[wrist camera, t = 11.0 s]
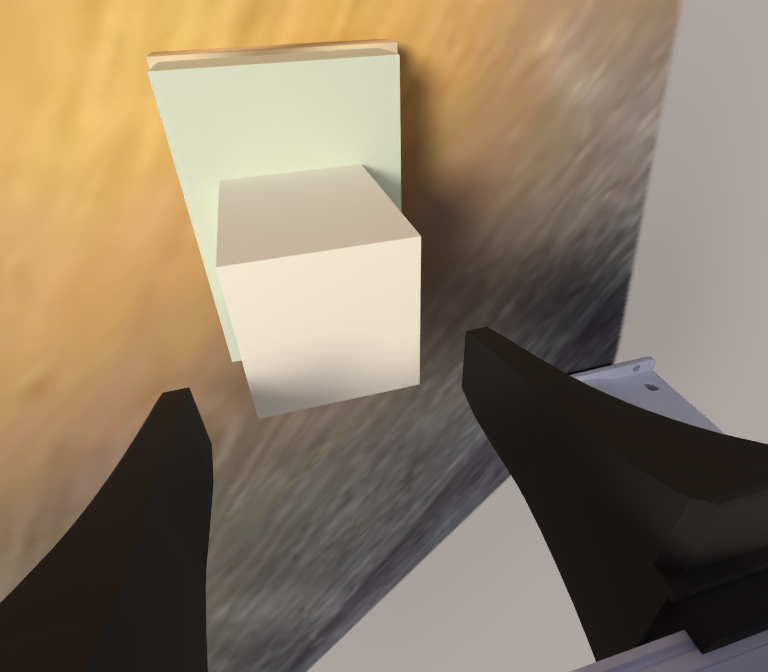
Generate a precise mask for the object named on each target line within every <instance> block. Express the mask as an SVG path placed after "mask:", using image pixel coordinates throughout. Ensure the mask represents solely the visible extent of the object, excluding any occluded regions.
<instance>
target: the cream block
mask: <svg viewBox="0 0 768 672" xmlns="http://www.w3.org/2000/svg"><path fill="white" fill-rule="evenodd" d="M216 270H217V273H218V277H219V280H220V284H221V288H222V291H223V295H224V298H225V302H226V305H227V309H228V313H229V316H230V320H231V323H232V327H233V331H234V334H235V338H236V341H237V345H238V348H239V352H240V356H241V359H242V363H243V366H244V370H245V373H246V377H247V381H248V384H249V388H250V391H251V395H252V399H253V402H254V406H255V409H256V413H257V416H258V419H261V418H266V417H270V416H275V415H280V414H284V413H289V412H293V411H298V410H303V409H307V408H312V407H317V406H321V405H326V404H330V403H335V402H340V401H344V400H349V399H354V398H358V397H363V396H367V395H372V394H377V393H381V392H386V391H391V390H395V389H400V388H404V387H409V386H414V385H418V384H419V377H420V288H421V236H420V234H419V233H418V232H417V231H416V230H415V228H414V227H413V226H412V225H411V224H410V222H409V221H408V220H407V219H406V218H405V216H404V215H403V214H402V213H401V212H400V210H399V209H398V208H397V207H396V206H395V204H394V203H393V202H392V201H391V200H390V198H389V197H388V196H387V195H386V194H385V192H384V191H383V190H382V189H381V187H380V186H379V185H378V184H377V183H376V181H375V180H374V179H373V178H372V177H371V175H370V174H369V173H368V172H367V171H366V169H365V168H364V167H363V166H362V165H361V164H358V165H350V166H341V167H333V168H324V169H315V170H307V171H298V172H290V173H281V174H273V175H264V176H256V177H247V178H238V179H230V180H221V181H219V201H218V226H217V251H216Z"/></svg>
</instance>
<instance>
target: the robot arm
mask: <svg viewBox="0 0 768 672" xmlns="http://www.w3.org/2000/svg"><path fill="white" fill-rule="evenodd" d="M654 365H655V360H654V359H653V358H651V357H644V358H640V359H636V360H632V361H627V362H623V363H619V364H615V365H610V366H606V367H602V368H598V369H593V370H589V371H585V372H581V373H577V374H572V375H568V374H566V373H564V372H563V371H561V370H559V369H557V368H555V367H553V366H552V365H550V364H548V363H546V362H545V361H543V360H541V359H540V358H538V357H536V356H535V355H533V354H531V353H530V352H528V351H526V350H525V349H523V348H521V347H520V346H518V345H516V344H515V343H513V342H512V341H510V340H508V339H507V338H505V337H503V336H502V335H500V334H498V333H497V332H495V331H493V330H491V329H490V328H488V327H484V328H479V329H474V330H469V331H466V338H465V351H464V365H463V379H462V389H463V391H464V393H465V396H466V398H467V400H468V403H469V405H470V407H471V409H472V411H473V413H474V416H475V418H476V419H477V421H478V423H479V424H480V426H481V428H482V429H483V431H484V433H485V434H486V436H487V438H488V439H489V441H490V442H491V444H492V446H493V447H494V449H495V450H496V452H497V453H498V455H499V457H500V458H501V460H502V461H503V463H504V465H505V466H506V468H507V469H508V471H509V473H510V474H511V476H512V477H513V479H514V480H515V482H516V484H517V485H518V487H519V489H520V491H521V493H522V494H523V496H524V498H525V500H526V502H527V504H528V506H529V508H530V510H531V512H532V514H533V516H534V518H535V520H536V522H537V524H538V526H539V528H540V530H541V532H542V534H543V537H544V539H545V541H546V543H547V545H548V548H549V550H550V552H551V554H552V556H553V558H554V560H555V562H556V565H557V567H558V569H559V572H560V574H561V576H562V579H563V581H564V583H565V586H566V588H567V590H568V593H569V595H570V597H571V600H572V602H573V604H574V607H575V609H576V611H577V614H578V617H579V619H580V622H581V624H582V627H583V629H584V631H585V634H586V636H587V639H588V642H589V644H590V647H591V649H592V652H593V655H594V657H595V660H596V662H595V663H593V664H590V665H587V666H585V667H582V668H579V669H576V670H573V671H571V672H768V444H764V443H759V442H755V441H751V440H746V439H741V438H737V437H733V436H729V435H725V434H723V432H722V431H721V430H720V429H719V428H718V427H717V426H715V424H713V423H712V422H711V421H710V420H709V419H708V418H707V417H705V416H704V415H703V414H702V413H701V412H700V411H699V410H697V409H696V408H695V407H694V406H693V405H692V404H690V403H689V402H688V401H687V400H686V399H685V398H683V397H682V396H681V395H680V394H679V393H678V392H677V391H675V390H674V389H673V388H672V387H671V386H670V385H668V384H667V383H666V382H665V381H664V380H663V379H661V378H660V377H659V376H658V375H657V374H656V373H654V372H653V371H652V370H653V367H654ZM212 494H213V460H212V444H211V442H210V439H209V436H208V434H207V431H206V429H205V426H204V424H203V421H202V419H201V416H200V414H199V411H198V409H197V406H196V404H195V401H194V398H193V396H192V393H191V391H190V388H184V389H179V390H174V391H169V392H164V393H162V395H161V396H160V397H159V399H158V400H157V402H156V404H155V405H154V407H153V409H152V411H151V412H150V414H149V416H148V417H147V419H146V421H145V422H144V424H143V426H142V427H141V429H140V431H139V432H138V434H137V435H136V437H135V439H134V440H133V442H132V443H131V445H130V446H129V448H128V450H127V451H126V453H125V454H124V456H123V457H122V459H121V460H120V462H119V463H118V465H117V466H116V468H115V469H114V471H113V472H112V474H111V475H110V476H109V478H108V479H107V481H106V482H105V483H104V485H103V486H102V487H101V489H100V490H99V492H98V493H97V494H96V496H95V497H94V499H93V500H92V501H91V503H90V504H89V505H88V506H87V508H86V509H85V510H84V512H83V513H82V514H81V515H80V517H79V518H78V519H77V520H76V522H75V523H74V524H73V525H72V526H71V528H70V529H69V530H68V531H67V532H66V534H65V535H64V536H63V537H62V538H61V540H60V541H59V542H58V543H57V544H56V545H55V546H54V548H53V549H52V550H51V551H50V552H49V553H48V554H47V555H46V556H45V557H44V558H43V559H42V560H41V561H40V562H39V564H38V565H37V566H36V567H35V568H34V569H33V570H32V571H31V572H30V573H29V574H28V575H27V576H26V577H25V578H24V579H23V580H22V581H21V582H20V584H19V585H18V586H17V587H16V588H15V589H14V590H13V591H12V592H11V593H10V594H9V595H8V596H7V597H6V598H5V599H4V600H3V601H2V602H1V603H0V672H208V667H207V637H206V589H205V588H206V566H207V554H208V542H209V531H210V519H211V507H212Z"/></svg>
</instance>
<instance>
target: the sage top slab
mask: <svg viewBox="0 0 768 672" xmlns="http://www.w3.org/2000/svg"><path fill="white" fill-rule="evenodd" d="M147 72H148V75H149V78H150V82H151V85H152V89H153V92H154V96H155V99H156V102H157V106H158V109H159V113H160V116H161V119H162V123H163V126H164V130H165V133H166V137H167V140H168V143H169V147H170V150H171V154H172V157H173V160H174V164H175V167H176V171H177V174H178V178H179V181H180V184H181V188H182V191H183V195H184V198H185V202H186V205H187V208H188V212H189V215H190V219H191V222H192V225H193V229H194V232H195V236H196V239H197V243H198V246H199V249H200V253H201V256H202V260H203V263H204V266H205V270H206V273H207V277H208V280H209V284H210V287H211V290H212V294H213V297H214V301H215V304H216V308H217V311H218V314H219V318H220V321H221V325H222V328H223V331H224V335H225V338H226V342H227V345H228V349H229V352H230V355H231V359H232V362H235V361H240V360H242V359H241V356H240V352H239V348H238V345H237V341H236V338H235V334H234V331H233V327H232V323H231V320H230V316H229V313H228V309H227V305H226V302H225V298H224V295H223V291H222V288H221V284H220V280H219V277H218V273H217V270H216V251H217V226H218V201H219V181H221V180H230V179H238V178H247V177H256V176H264V175H273V174H281V173H290V172H298V171H307V170H315V169H324V168H333V167H341V166H350V165H358V164H361V165H362V166H363V167H364V168H365V169H366V171H367V172H368V173H369V174H370V175H371V177H372V178H373V179H374V180H375V181H376V183H377V184H378V185H379V186H380V187H381V189H382V190H383V191H384V192H385V194H386V195H387V196H388V197H389V198H390V200H391V201H392V202H393V203H394V204H395V206H396V207H397V208H398V209H399V210H400V212H401V134H400V54H397V53H394V52H390V51H387V50H384V49H381V48H364V49H349V50H333V51H317V52H302V53H286V54H271V55H255V56H239V57H224V58H208V59H193V60H177V61H162V62H157V63H156V64H155V65H154V66H153V67H152V68H151V69H150V70H149V71H147Z"/></svg>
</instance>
